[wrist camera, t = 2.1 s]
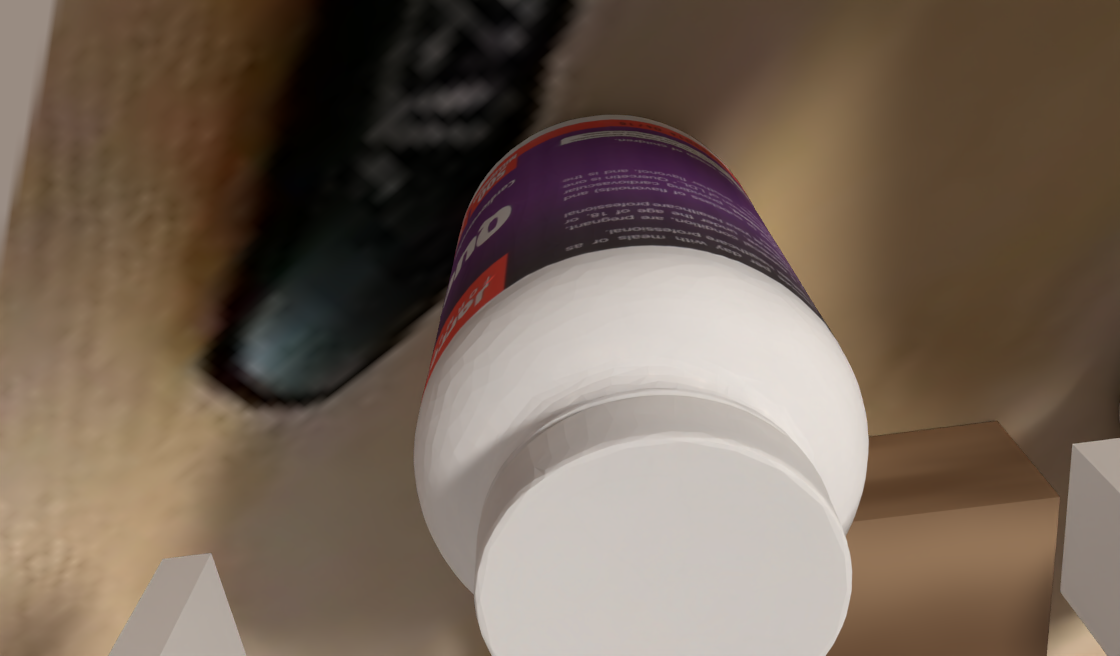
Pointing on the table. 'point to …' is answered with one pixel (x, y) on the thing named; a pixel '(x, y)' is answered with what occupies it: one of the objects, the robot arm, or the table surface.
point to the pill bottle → (637, 411)
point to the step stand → (950, 548)
